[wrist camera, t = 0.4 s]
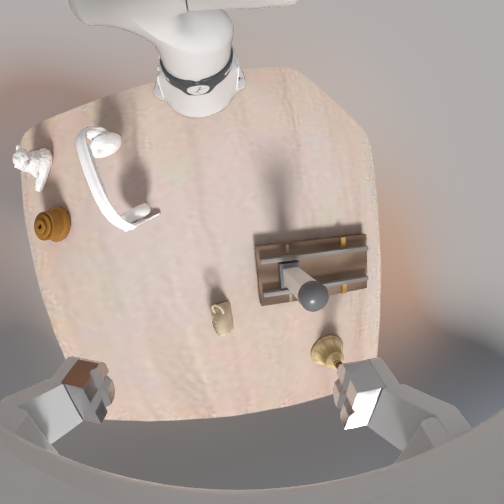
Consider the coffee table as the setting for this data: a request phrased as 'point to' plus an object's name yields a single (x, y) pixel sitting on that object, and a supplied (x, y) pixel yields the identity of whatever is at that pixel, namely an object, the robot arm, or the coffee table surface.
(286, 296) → the fader track
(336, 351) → the hand bell
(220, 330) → the decorative ornament
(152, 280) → the coffee table surface
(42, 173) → the white sculpted figure
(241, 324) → the coffee table surface
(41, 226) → the ornamental finial
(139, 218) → the headset
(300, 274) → the fader tab
